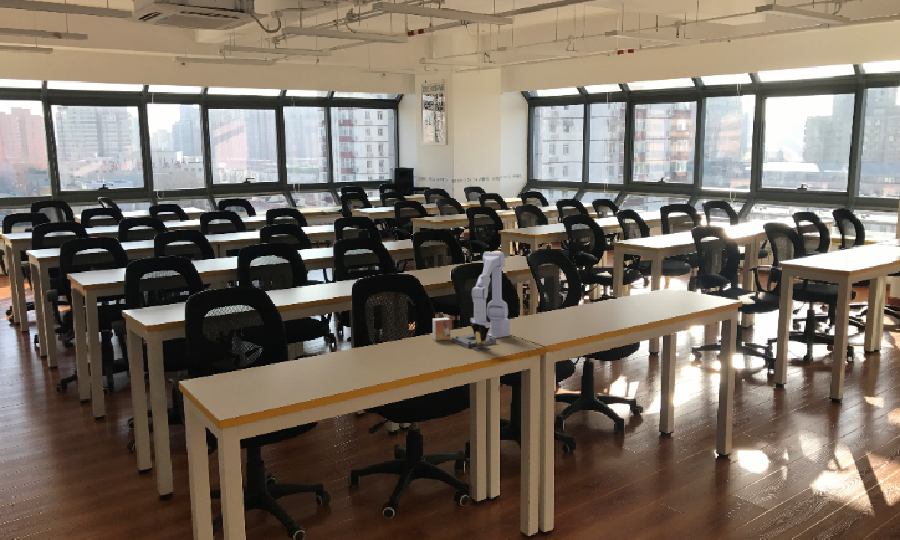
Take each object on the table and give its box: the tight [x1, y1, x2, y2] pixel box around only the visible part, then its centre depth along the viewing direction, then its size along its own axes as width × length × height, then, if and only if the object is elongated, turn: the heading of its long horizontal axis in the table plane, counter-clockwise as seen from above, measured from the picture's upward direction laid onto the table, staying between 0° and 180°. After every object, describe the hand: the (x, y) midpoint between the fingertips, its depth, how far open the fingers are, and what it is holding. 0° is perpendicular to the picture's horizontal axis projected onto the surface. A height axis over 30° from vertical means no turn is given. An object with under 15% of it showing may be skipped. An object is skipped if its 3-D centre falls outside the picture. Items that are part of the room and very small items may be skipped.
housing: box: [451, 333, 497, 349], centre depth 350 cm, size 16×16×2 cm
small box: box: [432, 316, 452, 342], centre depth 357 cm, size 8×6×10 cm
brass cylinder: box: [476, 330, 486, 347], centre depth 338 cm, size 5×5×7 cm
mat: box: [469, 345, 492, 352], centre depth 338 cm, size 7×7×1 cm
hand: (480, 339), depth 338 cm, fingers closed on brass cylinder, 5 cm apart
